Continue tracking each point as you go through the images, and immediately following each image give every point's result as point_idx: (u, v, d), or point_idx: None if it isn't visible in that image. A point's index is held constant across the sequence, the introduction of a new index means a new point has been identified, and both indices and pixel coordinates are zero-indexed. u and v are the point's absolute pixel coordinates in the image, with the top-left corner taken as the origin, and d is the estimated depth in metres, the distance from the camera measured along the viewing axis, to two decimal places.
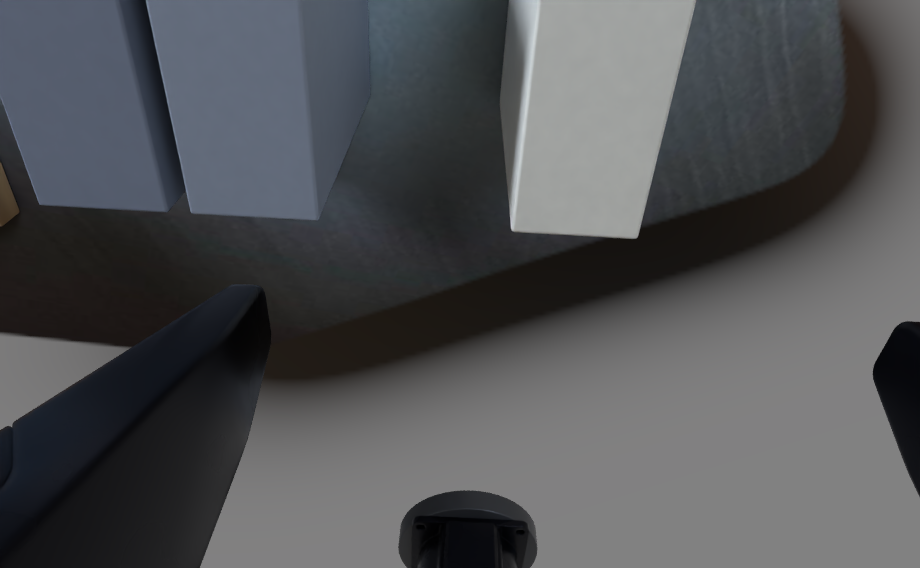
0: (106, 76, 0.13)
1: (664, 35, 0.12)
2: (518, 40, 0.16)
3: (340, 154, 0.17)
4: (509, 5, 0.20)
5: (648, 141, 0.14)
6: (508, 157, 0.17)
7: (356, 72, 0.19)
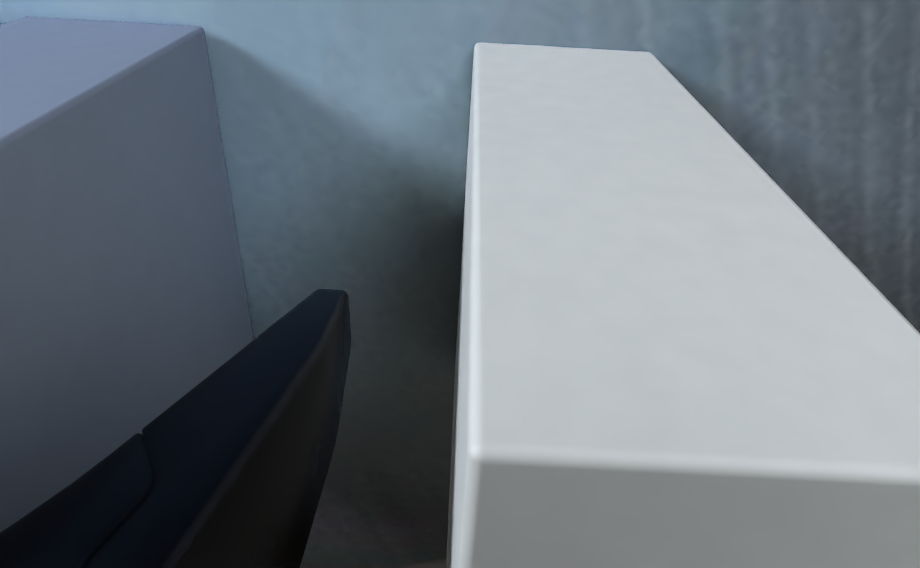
0: None
1: None
2: (454, 434, 0.08)
3: None
4: (462, 249, 0.12)
5: None
6: None
7: (198, 381, 0.11)
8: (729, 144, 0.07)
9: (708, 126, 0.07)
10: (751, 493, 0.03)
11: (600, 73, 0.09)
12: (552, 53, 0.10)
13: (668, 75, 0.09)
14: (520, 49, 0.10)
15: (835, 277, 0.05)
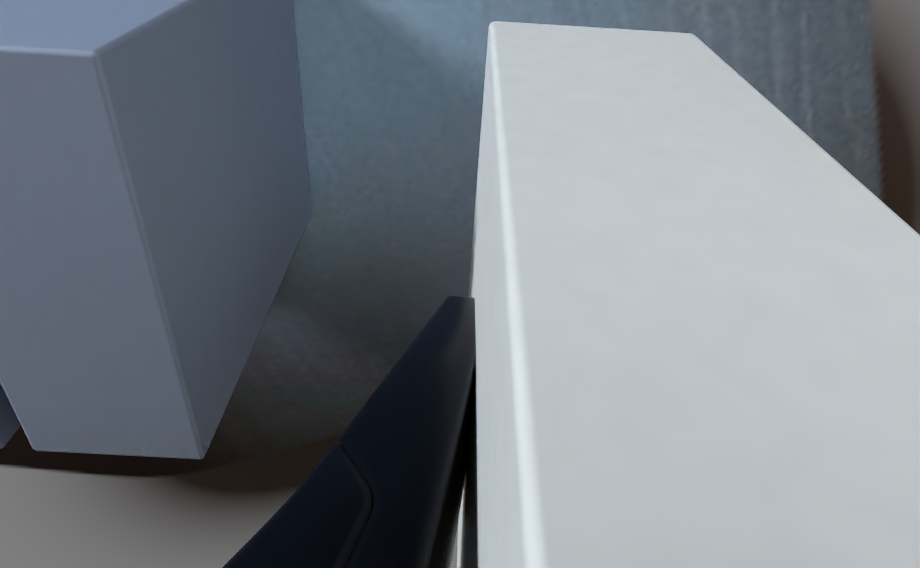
0: None
1: None
2: (470, 495, 0.07)
3: (250, 335, 0.13)
4: (472, 257, 0.11)
5: None
6: None
7: (281, 210, 0.15)
8: (817, 153, 0.06)
9: (784, 128, 0.06)
10: None
11: (640, 59, 0.08)
12: (581, 34, 0.09)
13: (720, 62, 0.08)
14: (543, 29, 0.09)
15: None
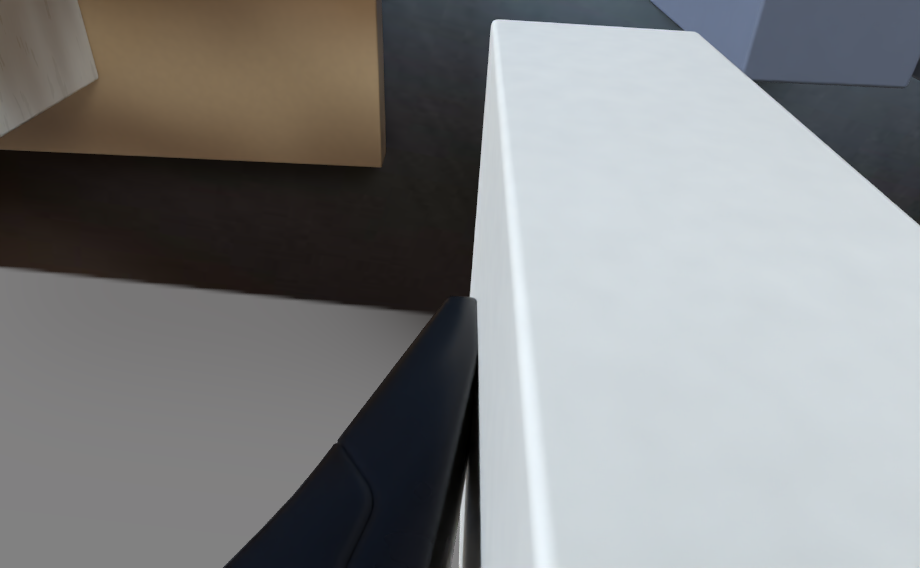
0: None
1: None
2: (473, 496, 0.07)
3: None
4: (474, 256, 0.11)
5: None
6: None
7: None
8: (823, 152, 0.06)
9: (790, 126, 0.06)
10: None
11: (644, 57, 0.08)
12: (583, 32, 0.09)
13: (724, 60, 0.08)
14: (546, 28, 0.09)
15: None
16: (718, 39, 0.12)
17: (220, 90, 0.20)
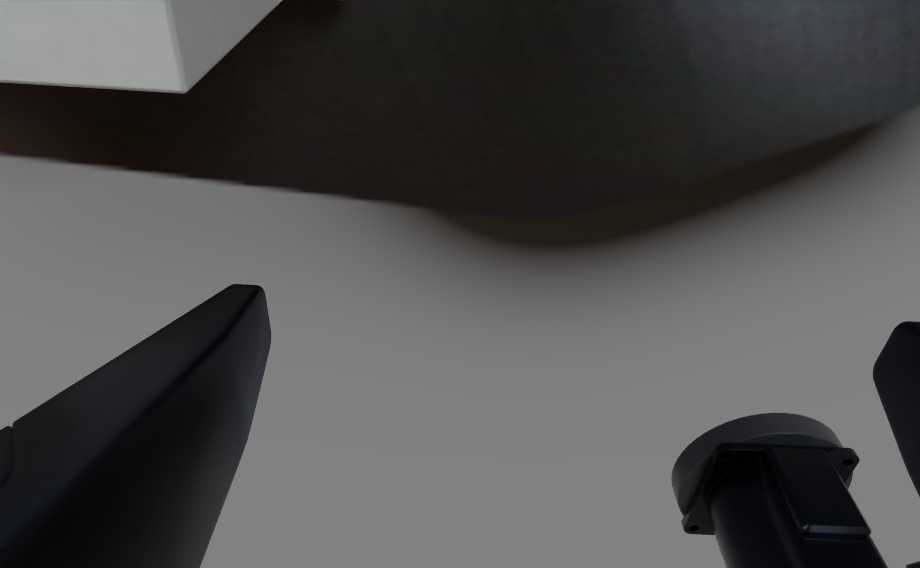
0: None
1: None
2: None
3: None
4: None
5: None
6: None
7: None
8: None
9: None
10: None
11: None
12: None
13: None
14: None
15: None
16: None
17: None
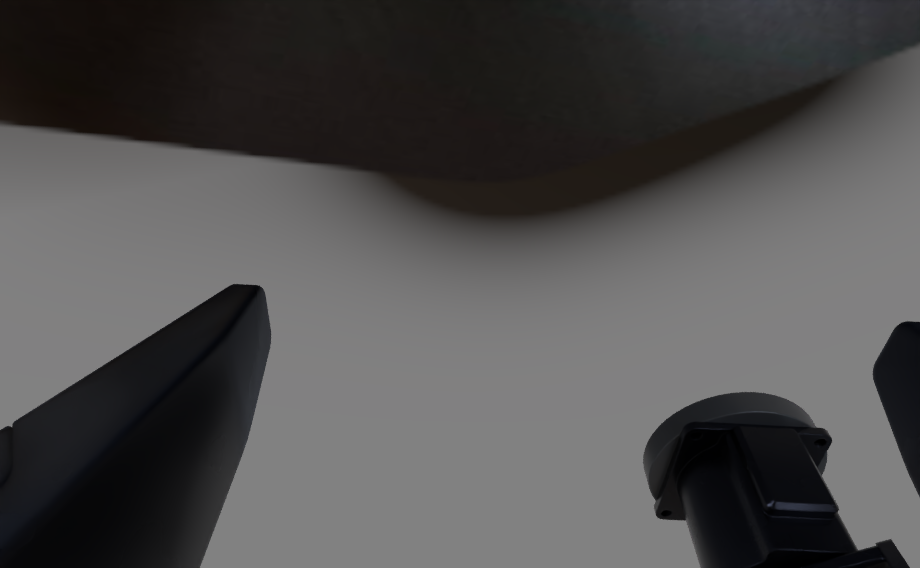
0: None
1: None
2: None
3: None
4: None
5: None
6: None
7: None
8: None
9: None
10: None
11: None
12: None
13: None
14: None
15: None
16: None
17: None
